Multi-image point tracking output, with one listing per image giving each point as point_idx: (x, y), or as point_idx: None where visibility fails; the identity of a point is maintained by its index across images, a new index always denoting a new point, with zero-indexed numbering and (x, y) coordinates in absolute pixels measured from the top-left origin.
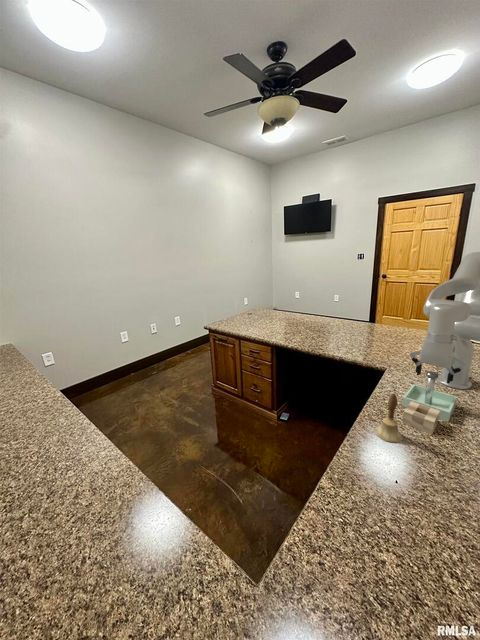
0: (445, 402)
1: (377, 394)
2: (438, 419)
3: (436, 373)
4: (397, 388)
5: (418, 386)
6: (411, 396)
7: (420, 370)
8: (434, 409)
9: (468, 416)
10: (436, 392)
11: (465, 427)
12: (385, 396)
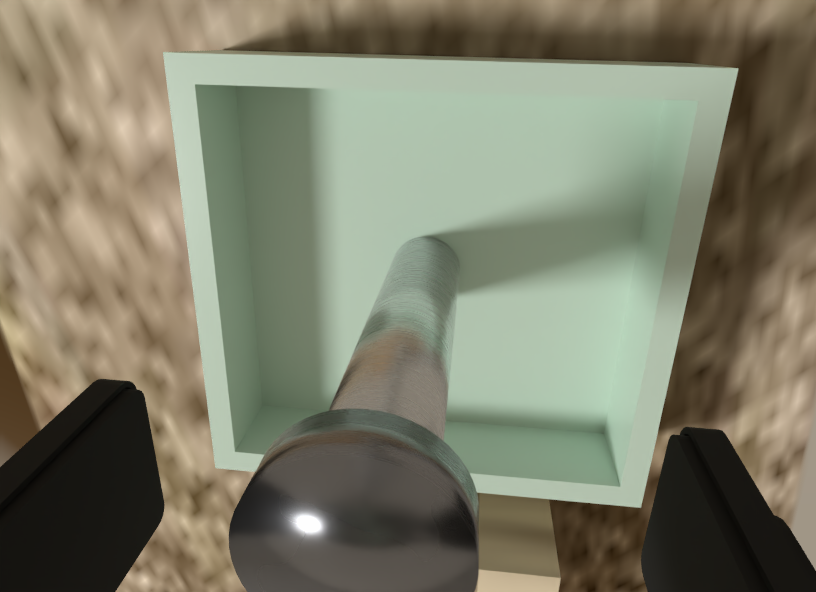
0: (584, 129)
1: (17, 341)
2: (549, 508)
3: (425, 523)
4: (68, 72)
5: (241, 85)
6: (257, 231)
7: (101, 509)
8: (513, 582)
9: (796, 229)
10: (473, 91)
11: (744, 433)
12: (82, 333)
